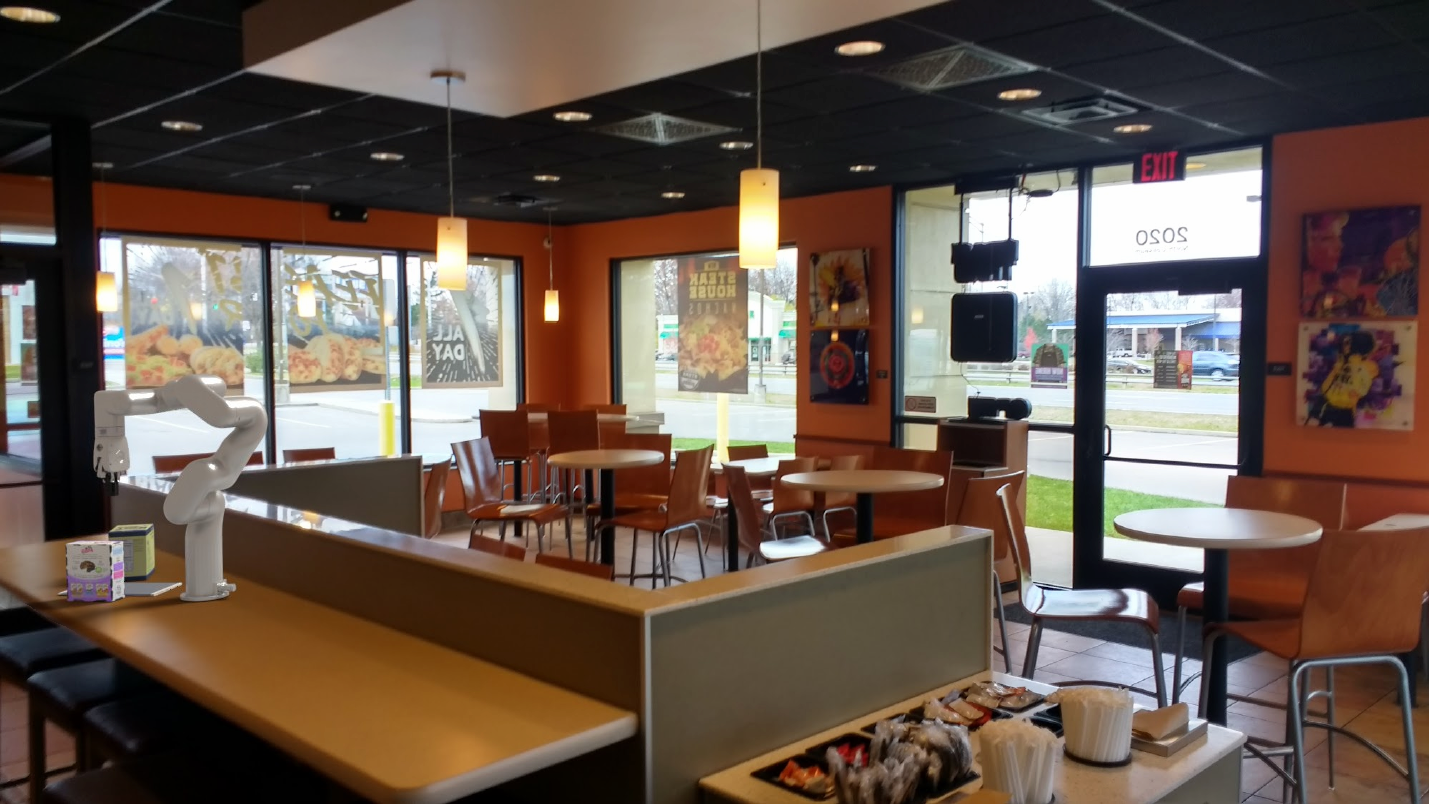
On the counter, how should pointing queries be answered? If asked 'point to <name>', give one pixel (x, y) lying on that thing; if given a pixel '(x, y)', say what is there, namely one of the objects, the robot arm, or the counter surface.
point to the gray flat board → (144, 588)
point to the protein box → (136, 549)
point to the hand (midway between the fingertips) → (111, 495)
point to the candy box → (95, 571)
